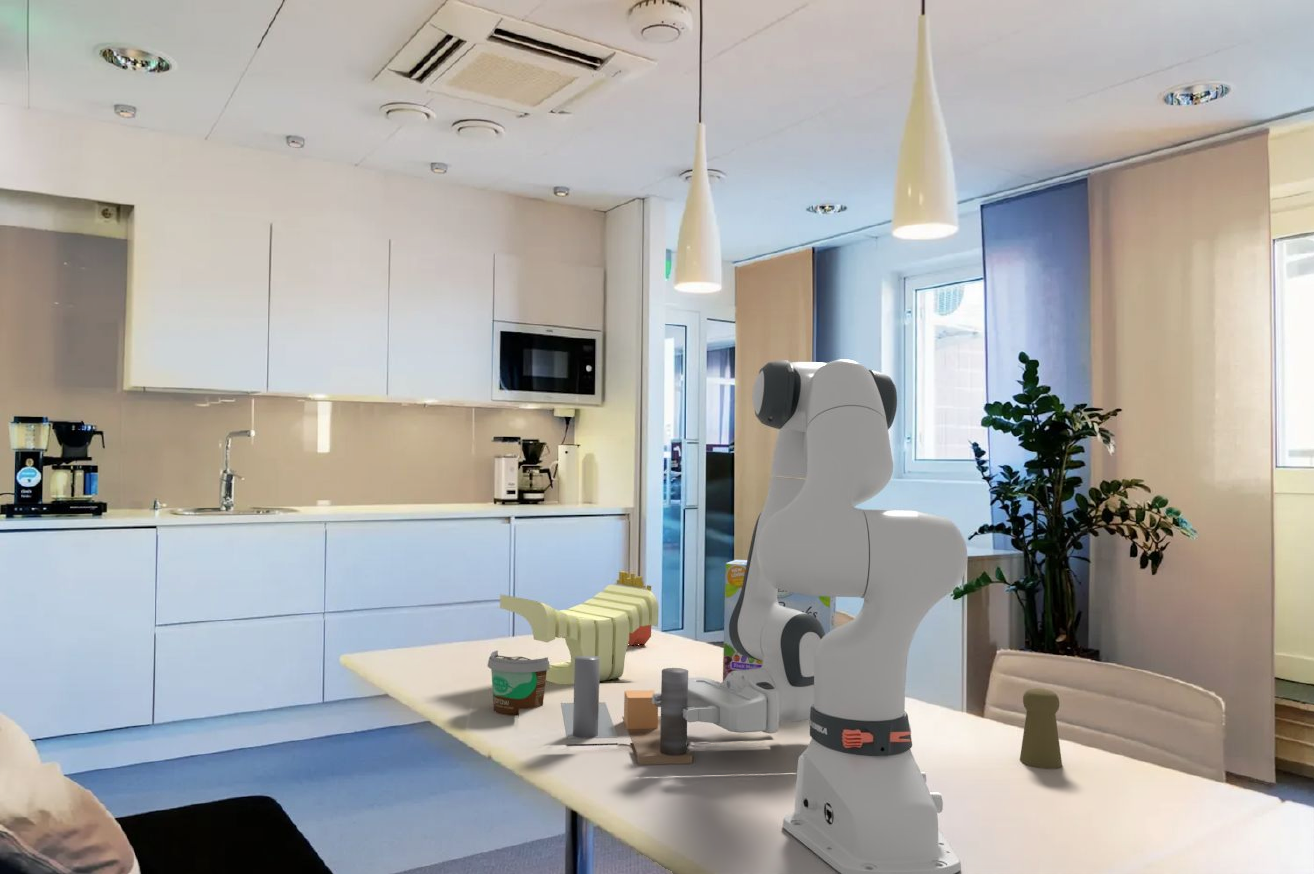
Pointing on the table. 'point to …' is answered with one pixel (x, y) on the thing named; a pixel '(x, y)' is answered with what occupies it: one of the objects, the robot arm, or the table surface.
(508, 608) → the slatted curved stool
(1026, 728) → the olive green pawn
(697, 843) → the table surface
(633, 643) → the french fries container
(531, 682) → the food container
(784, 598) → the snack box
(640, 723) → the terracotta block
